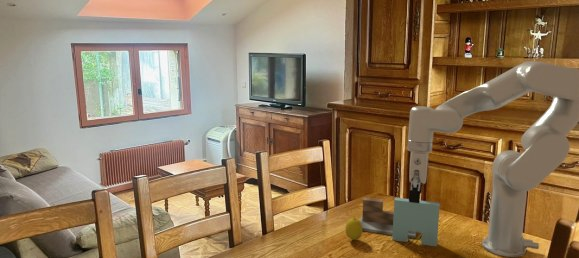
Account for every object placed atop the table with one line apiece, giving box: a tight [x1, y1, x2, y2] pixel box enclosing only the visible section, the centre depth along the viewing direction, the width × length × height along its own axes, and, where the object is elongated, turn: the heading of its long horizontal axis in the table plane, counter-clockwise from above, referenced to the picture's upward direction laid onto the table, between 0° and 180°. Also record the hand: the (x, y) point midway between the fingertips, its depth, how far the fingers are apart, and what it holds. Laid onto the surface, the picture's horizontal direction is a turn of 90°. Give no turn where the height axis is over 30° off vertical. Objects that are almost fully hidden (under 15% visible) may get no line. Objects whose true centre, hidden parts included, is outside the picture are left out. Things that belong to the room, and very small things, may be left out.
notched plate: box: [392, 197, 441, 247], centre depth 141 cm, size 14×2×14 cm, turn 70°
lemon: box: [345, 217, 363, 241], centre depth 142 cm, size 6×6×8 cm
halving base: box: [358, 197, 417, 239], centre depth 154 cm, size 20×15×9 cm
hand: (415, 197), depth 139 cm, fingers open, 9 cm apart
